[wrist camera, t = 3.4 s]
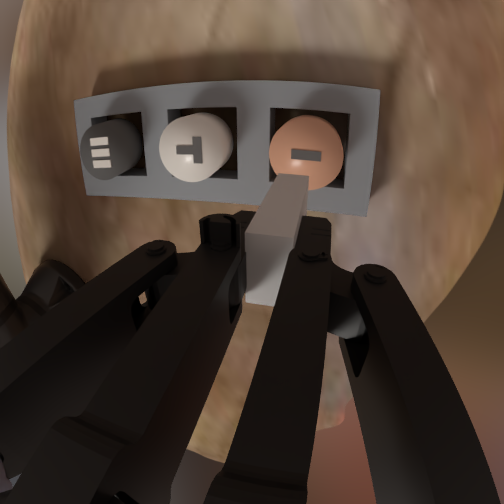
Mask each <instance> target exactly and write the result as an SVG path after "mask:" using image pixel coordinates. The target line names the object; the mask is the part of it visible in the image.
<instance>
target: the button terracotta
mask: <svg viewBox="0 0 504 504" xmlns="http://www.w3.org/2000/svg"><path fill="white" fill-rule="evenodd" d="M343 156H344V154H343V147H342V143H341V139H340V136H339V134H338V132H337V130H336V129H335V128H334V126H333V125H332V124H331V123H329V122H328V121H327V120H325V119H323V118H321V117H319V116H315V115H300V116H297V117H294V118H292V119H290V120H289V121H288V122H286V123H285V124H284V125H283V126H282V127H281V128H280V129H279V130H278V131H277V132H276V133H275V135H274V136H273V138H272V141H271V143H270V148H269V158H270V163H271V166H272V168H273V170H274V172H275V173H276V175H278V173H283V174H294V175H305V176H309V186H308V190H315V189H319V188H322V187H324V186H326V185H328V184H329V183H331V182H332V181H333V180H334V179H335V178H336V177H337V175H338V174H339V172H340V170H341V168H342V164H343Z"/></svg>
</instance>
